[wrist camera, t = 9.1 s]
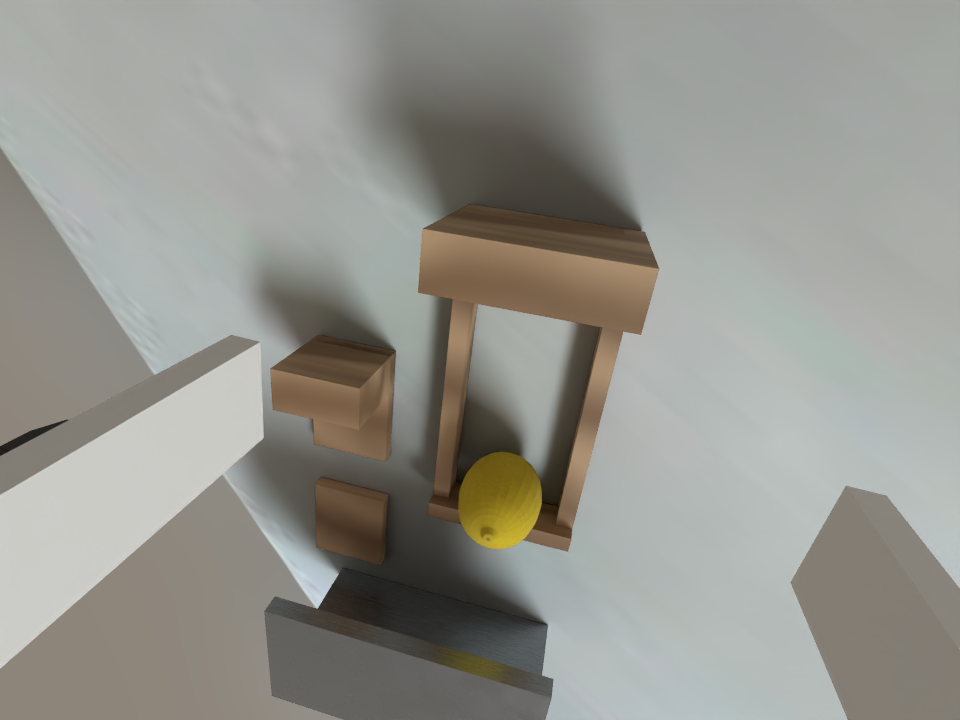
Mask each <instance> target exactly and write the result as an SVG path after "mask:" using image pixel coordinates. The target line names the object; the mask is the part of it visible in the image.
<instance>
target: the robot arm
mask: <svg viewBox="0 0 960 720" xmlns="http://www.w3.org/2000/svg"><path fill="white" fill-rule="evenodd" d="M263 438H264V433H263V405H262V377H261V349H260V342H258V341H254V340H250V339H246V338H242V337H237V336H233V335H231V336H229V337H227V338H225V339H223V340H221V341H219V342H217V343H215V344H213V345H211V346H210V347H208V348H206V349H204V350H202V351H200V352H198V353H196V354H194V355H192V356H190V357H189V358H187V359H185V360H183V361H181V362H179V363H177V364H175V365H173V366H171V367H169V368H168V369H166V370H164V371H162V372H160V373H158V374H156V375H154V376H152V377H150V378H148V379H147V380H145V381H143V382H141V383H139V384H137V385H135V386H133V387H131V388H129V389H127V390H126V391H124V392H122V393H120V394H118V395H116V396H115V397H112V398H111V399H108V400H106V401H105V402H103V403H101V404H99V405H97V406H95V407H93V408H91V409H89V410H87V411H86V412H84V413H82V414H80V415H78V416H76V417H74V418H72V419H70V420H64V421H61V422H58V423H55V424H51V425H48V426H45V427H42V428H38V429H35V430H32V431H29V432H27V433H26V434H23V435H21V436H20V437H18V438H16V439H14V440H12V441H10V442H8V443H6V444H4V445H2V446H0V668H1V667H2V666H3V665H5V664H6V663H7V662H8V661H9V660H10V659H12V658H13V657H14V656H15V655H16V654H17V653H18V652H20V651H21V650H22V649H23V648H24V647H25V646H26V645H28V644H29V643H30V642H31V641H32V640H33V639H34V638H35V637H37V636H38V635H39V634H40V633H41V632H42V631H43V630H45V629H46V628H47V627H48V626H49V625H50V624H52V623H53V622H54V621H55V620H56V619H57V618H58V617H60V615H62V614H63V613H64V612H65V611H66V610H68V609H69V608H70V607H71V606H72V605H73V604H74V603H76V601H78V600H79V599H80V598H81V597H82V596H83V595H85V594H86V593H87V592H88V591H89V590H90V589H91V588H93V587H94V586H95V585H96V584H97V583H98V582H99V581H101V580H102V579H103V578H104V577H105V576H106V575H108V574H109V573H110V572H111V571H112V570H113V569H114V568H116V567H117V566H118V565H119V564H120V563H121V562H122V561H124V559H126V558H127V557H128V556H129V555H130V554H132V553H133V552H134V551H135V550H136V549H137V548H138V547H140V546H141V545H142V544H143V543H144V542H145V541H146V540H148V539H149V538H150V537H151V536H152V535H153V534H155V533H156V532H157V531H158V530H159V529H160V528H161V527H162V526H164V525H165V524H166V523H167V522H168V521H169V520H171V519H172V518H173V517H174V516H175V515H176V514H177V513H179V512H180V511H181V510H182V509H183V508H184V507H185V506H187V505H188V504H189V503H190V502H191V501H192V500H193V499H194V498H196V497H197V496H198V495H199V494H200V493H201V492H202V491H203V490H205V489H206V488H207V487H208V486H209V485H211V484H212V483H213V482H214V481H215V480H216V479H217V478H219V477H220V476H221V475H222V474H223V473H224V472H225V471H227V470H228V469H229V468H230V467H231V466H232V465H233V464H235V463H236V462H237V461H238V460H239V459H240V458H241V457H243V456H244V455H245V454H246V453H247V452H248V451H249V450H251V449H252V448H253V447H254V446H255V445H256V444H257V443H259V442H260V441H261V440H262V439H263ZM791 584H792V587H793V589H794V592H795V594H796V596H797V599H798V601H799V604H800V606H801V608H802V611H803V613H804V616H805V618H806V620H807V623H808V625H809V628H810V630H811V632H812V635H813V637H814V640H815V642H816V644H817V647H818V649H819V652H820V654H821V656H822V659H823V661H824V663H825V666H826V668H827V671H828V673H829V675H830V678H831V680H832V683H833V685H834V687H835V690H836V692H837V695H838V697H839V699H840V702H841V704H842V707H843V709H844V711H845V714H846V716H847V719H848V720H960V588H959V587H958V586H957V585H956V583H955V582H954V581H953V580H952V578H951V577H950V576H949V574H948V573H947V572H946V571H945V569H944V568H943V567H942V566H941V564H940V563H939V562H938V560H937V559H936V558H935V557H934V555H933V554H932V553H931V552H930V550H929V549H928V548H927V547H926V545H925V544H924V543H923V541H922V540H921V539H920V538H919V536H918V535H917V534H916V533H915V531H914V530H913V529H912V527H911V526H910V525H909V524H908V522H907V521H906V520H905V519H904V517H903V516H902V515H901V513H900V512H899V511H898V510H897V508H896V507H895V506H894V505H893V503H892V502H891V501H890V500H889V498H888V497H887V496H885V495H881V494H877V493H873V492H869V491H865V490H861V489H857V488H853V487H849V486H846V487H845V488H844V490H843V492H842V494H841V495H840V497H839V499H838V501H837V502H836V504H835V506H834V508H833V509H832V511H831V513H830V515H829V516H828V518H827V520H826V522H825V523H824V525H823V527H822V529H821V530H820V532H819V534H818V536H817V537H816V539H815V541H814V542H813V544H812V546H811V548H810V549H809V551H808V553H807V555H806V556H805V558H804V560H803V562H802V563H801V565H800V567H799V569H798V570H797V572H796V574H795V576H794V577H793V579H792V581H791Z"/></svg>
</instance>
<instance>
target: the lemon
mask: <svg viewBox="0 0 960 720" xmlns="http://www.w3.org/2000/svg"><path fill="white" fill-rule="evenodd" d="M541 504H542V489H541V484H540V481H539V478H538V475H537V473H536V471H535V470H534V468H533V467H532V466H531V464H529V463H528V462H527V461H526V460H525V459H524V458H522V457H520V456H518V455H516V454H513V453H509V452H495V453H491V454H488V455H486V456H484V457H482V458H481V459H479V460H478V461H477V462H475V463H474V465H473V466H472V467H471V468H470V470H469V471H468V472H467V474H466V475H465V478H464V480H463V483H462V485H461V488H460V492H459V504H458V511H459V517H460V521H461V524H462V526H463V528H464V530H465V531H466V533H467V534H468V535H469V536H470V537H471V538H472V539H473V540H474V541H475V542H477V543H478V544H480V545H482V546H484V547H487V548H491V549H504V548H509V547H512V546H514V545H516V544H518V543H519V542H521V541H522V540H523V539H524V538H525V537H526V536H527V535H528V534H529V532H530V531H531V529H532V528H533V526H534V525H535V523H536V521H537V518H538V515H539V512H540V509H541Z"/></svg>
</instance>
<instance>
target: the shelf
mask: <svg viewBox="0 0 960 720" xmlns="http://www.w3.org/2000/svg"><path fill="white" fill-rule="evenodd" d="M264 612H265V624H266V635H267V646H268V657H269V667H270V679H271V690H272V696H274V697H277V698H280V699H283V700H286V701H289V702H292V703H295V704H298V705H301V706H305V707H307V708H310V709H313V710H317V711H319V712H322V713H325V714H329V715H332V716H335V717H338V718H341V719H344V720H545V719H546V715H547V712H548V708H549V705H550V701H551V698H552V687H553V679H551V678H548V677H545V676H542V670H543V662H544V653H545V645H546V637H547V628H548V625H544V624H541V623H537V622H534V621H530V620H527V619H523V618H520V617H516V616H512V615H509V614H505V613H502V612H498V611H495V610H491V609H488V608H484V607H480V606H477V605H473V604H470V603H466V602H463V601H459V600H456V599H452V598H448V597H445V596H441V595H438V594H434V593H431V592H427V591H424V590H420V589H417V588H413V587H409V586H406V585H402V584H399V583H395V582H392V581H388V580H385V579H381V578H377V577H374V576H370V575H367V574H363V573H360V572H356V571H353V570H349V569H345V568H342V570H341V571H340V573H339V575H338V576H337V578H336V580H335V581H334V583H333V584H332V586H331V588H330V589H329V591H328V593H327V594H326V596H325V598H324V599H323V601H322V603H321V604H320V606H319V608H318V609H316V608H312V607H309V606H306V605H302V604H299V603H295V602H292V601H289V600H285V599H282V598H279V597H274V598H273V600H272V601H271V603H270V604H269V606H268V607H267V608H266V610H265V611H264Z"/></svg>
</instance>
